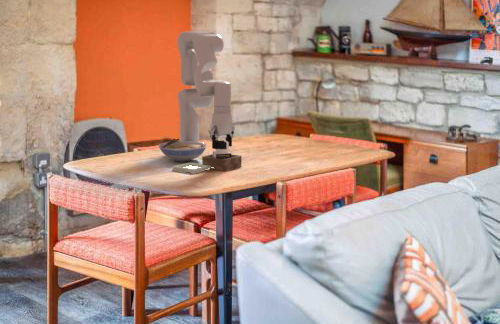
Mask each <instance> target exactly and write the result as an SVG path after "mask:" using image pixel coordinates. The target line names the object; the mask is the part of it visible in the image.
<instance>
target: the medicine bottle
mask: <svg viewBox="0 0 500 324" xmlns="http://www.w3.org/2000/svg"><path fill="white" fill-rule="evenodd" d="M229 147H230V146H229V142H228V141H226V140H223V139H222V140H219V149H213V150H212V154H213V158H218V159H228V158H231V154H232V152H231V151H229V150H230V149H229Z"/></svg>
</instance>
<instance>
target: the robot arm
mask: <svg viewBox="0 0 500 324" xmlns="http://www.w3.org/2000/svg"><path fill="white" fill-rule="evenodd" d="M176 40H177V41H176V42H177V48H178V49H177V50H178V53H179V56H180V57H179V58H180V81H181V84H182V85H183V86H188V87H192V86H193V87H194V86H195V88H193V87H192V88H183V89H181V90H180V91H178V93H177V102H178V108H179V141H191V142H200V117H199V114H198V113H197V111H196V110H195V109H198V108H199V109H200V108H202V109H203V108H209V107H211V106H212V105H213V114H212V117H211V125H210V127H211V129H210V130H209V131H208V132H209V133H208V134H209V137H210V138H211V139H210V140H211V145H212V146H211V147H212V149H213V150H215V149H219V141H220V140H219V138H220V137H221V136H226V137H225V141H228V142H229V147H233V137H234V133H235V130H236V127H235V126H234V125H233V119H232V112H231V110H232V109H231V108H232V106H231V104H232V85H231V83H230V82H229V81H226V80H224V79H214V74H213V71H212V69H214V67H216V65H217V63H218V59H217V57H216V54H215V53H220V52H222V51H223V50H224V46H225V43H224V40H223V38H222V36H221V35H220V34H218V33H215V32H213V31H208V30H206V31H203V30H201V31H200V30H199V31H196V30H195V31H194V30H188V31H182V32H180V33H179V34H178V36H177V39H176Z"/></svg>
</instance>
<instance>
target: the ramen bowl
mask: <svg viewBox="0 0 500 324" xmlns="http://www.w3.org/2000/svg"><path fill="white" fill-rule="evenodd" d="M207 146H208V145H207V143H204V142H200V141H199V142H191V141H180V138H177V139H176V138H173V139H172V140H170V141H167V142H166V141H165V142H162V143H159V144H158V148H159V149H160V151H161V153H162V154H163V155H164V156H165V157H167V158H168V159H170V160H173V161H175V162H178V161H187V162H190V160H191V161H192V160H194V159H196V158H199V157H200V156H201V155H202V154H203V153H204V152H205V150H206V149H207Z"/></svg>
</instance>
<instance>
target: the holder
mask: <svg viewBox="0 0 500 324" xmlns="http://www.w3.org/2000/svg"><path fill="white" fill-rule="evenodd" d="M242 158H243V157H242V155H238V154H232V153H231V158H228V159H218V158H213V153H211V154H208V155H203V156H201V159H202V161H201V163H202V164H203V165H209V166H211V167H214V168H215V169H214V170H216V171H223V172H225V171H226V172H227V171H229V170H234V169H237V168H241V167H242Z"/></svg>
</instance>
